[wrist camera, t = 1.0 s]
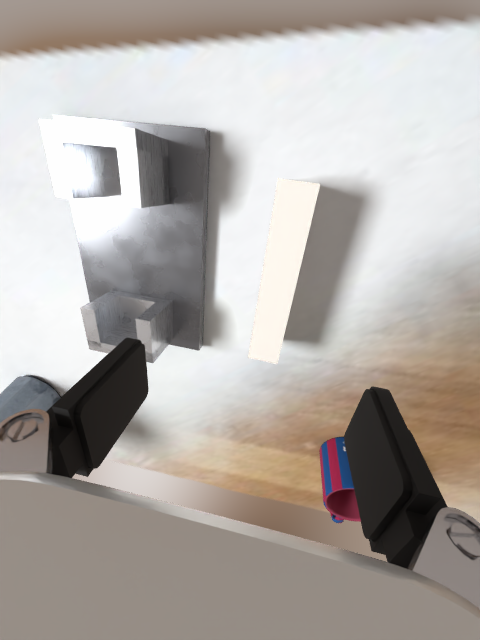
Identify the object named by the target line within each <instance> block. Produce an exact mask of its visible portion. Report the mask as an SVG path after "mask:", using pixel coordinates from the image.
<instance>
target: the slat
mask: <svg viewBox="0 0 480 640" xmlns="http://www.w3.org/2000/svg"><path fill="white" fill-rule="evenodd" d="M319 188H320V184H317V183H309V182H302V181H295V180H287V179H280V178H278V181H277V187H276V193H275V199H274V205H273V211H272V217H271V223H270V228H269V234H268V240H267V246H266V252H265V258H264V264H263V270H262V276H261V282H260V288H259V294H258V300H257V306H256V312H255V318H254V324H253V330H252V336H251V342H250V348H249V354H248V358H252V359H256V360H261V361H265V362H270V363H274V364H277V363H278V359H279V355H280V351H281V347H282V342H283V338H284V334H285V330H286V326H287V321H288V317H289V313H290V309H291V305H292V301H293V296H294V292H295V288H296V284H297V280H298V276H299V271H300V267H301V263H302V259H303V255H304V251H305V246H306V242H307V238H308V234H309V230H310V225H311V221H312V217H313V213H314V209H315V205H316V200H317V196H318V192H319Z"/></svg>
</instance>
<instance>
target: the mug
mask: <svg viewBox="0 0 480 640" xmlns="http://www.w3.org/2000/svg"><path fill="white" fill-rule="evenodd" d="M320 464H321V477H322V489H323V502H324V505H325V507H326V509H327V510H328V511H329V512H330V513H331V517H332V520H333V521H334V522H336V523H342V522H343V520H344V519H345V520H350V521H361V520H360V515H359V510H358V505H357V500H356V496H355V491H354V486H353V481H352V476H351V472H350V467H349V462H348V457H347V452H346V448H345V443H344V437H337V438H332V439H330V440H328V441H326V442H325V443H324V444H323V445H322V446H321V448H320Z"/></svg>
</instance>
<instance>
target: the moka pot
mask: <svg viewBox="0 0 480 640" xmlns="http://www.w3.org/2000/svg"><path fill="white" fill-rule="evenodd" d="M59 399H60V396H59V395H58V393H57V392H56V391H55V390H54V389H53V388H52V387H51V386H49V385H48V384H46V383H44V382H42V381H40V380H38V379H36V378H33V377H28V376H23V377H18V378H16V379H15V380H14V381H13V382H12V383H11V384H10V385H9V386H8V387H7V388H6V389H5V390H4V391H3V392H2V393H1V394H0V423H1V422H2V421H3V420H5V419H6V418H8V417H9V416H11V415H13V414H15V413H18V412H21V411H24V410H29V409H41V410H44V411H47V410H48V409H49V408H50V407H52V405H53V404H55V403H56V402H57V401H58V400H59Z"/></svg>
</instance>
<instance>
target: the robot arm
mask: <svg viewBox="0 0 480 640" xmlns="http://www.w3.org/2000/svg"><path fill="white" fill-rule="evenodd" d="M147 394H148V379H147V366H146V353H145V345H144V344H142V342H141V340H138V339H133V338H128V337H127V338H125V339H124V340H123V341H122V342H121V343H119V344H118V345H117V346H116V347H115V348H114V349H113V350H112V351H111V352H110V353H109V354H108V355H106V356H105V357H104V358H103V359H102V360H101V361H100V362H99V363H98V364H97V365H96V366H95V367H93V368H92V369H91V370H90V371H89V372H88V373H87V374H86V375H85V376H84V377H83V378H82V379H80V380H79V381H78V382H77V383H76V384H75V385H74V386H73V387H72V388H71V389H70V390H69V391H68V392H66V393H65V394H64V395H63V396H62V397H61V398H60V399H59V400H58V401H57V402H56V403H55V404H53V405H52V407H50V408H49V409H48V410H47V411H44V410H41V409H29V410H24V411H21V412H18V413H15V414H13V415H11V416H9V417H8V418H6V419H5V420H3V421H2V422H1V423H0V640H480V523H479V522H478V521H476V520H475V519H474V518H473V517H471V516H469V515H468V514H466V513H465V512H463V511H460V510H458V509H456V508H450V507H447V505H446V503H445V501H444V499H443V497H442V495H441V493H440V491H439V488H438V486H437V484H436V482H435V480H434V478H433V476H432V474H431V472H430V470H429V468H428V466H427V464H426V462H425V460H424V458H423V456H422V454H421V452H420V449H419V447H418V445H417V443H416V441H415V439H414V437H413V435H412V433H411V432H410V431H409V430H408V428H407V426H406V424H405V422H404V420H403V418H402V416H401V414H400V412H399V409H398V407H397V405H396V403H395V401H394V399H393V397H392V395H391V393H390V391H389V390H387V389H383V388H378V387H371V388H370V390H369V389H366V390H365V392H364V394H363V396H362V398H361V400H360V402H359V404H358V407H357V409H356V411H355V413H354V415H353V417H352V419H351V422H350V424H349V426H348V428H347V430H346V432H345V436H344V443H345V448H346V452H347V457H348V462H349V467H350V472H351V476H352V481H353V486H354V491H355V496H356V500H357V505H358V510H359V515H360V520H361V524H362V529H363V533H364V536H365V537H366V538H367V539H369V541H370V546H371V550H372V551H373V552H377V553H381V554H384V555H386V558H387V561H388V562H385V561H382V560H378V559H375V558H372V557H368V556H364V555H361V554H358V553H354V552H351V551H347V550H343V549H340V548H337V547H333V546H330V545H326V544H322V543H318V542H315V541H311V540H308V539H304V538H300V537H296V536H293V535H289V534H285V533H282V532H278V531H274V530H271V529H267V528H263V527H259V526H256V525H252V524H248V523H244V522H241V521H237V520H233V519H229V518H225V517H222V516H218V515H214V514H210V513H206V512H203V511H198V510H195V509H191V508H187V507H183V506H180V505H176V504H172V503H168V502H164V501H160V500H157V499H153V498H149V497H145V496H141V495H137V494H133V493H130V492H126V491H121V490H118V489H114V488H110V487H106V486H102V485H98V484H93V483H89V482H85V481H81V480H77V479H72V477H73V476H74V474H75V473H76V474H79V475H83V476H87V477H88V476H89V474H90V473H91V471H92V470H93V469H94V468H98V467H99V466H100V464H101V463H102V462H103V460H104V459H105V457H106V456H107V454H108V453H109V451H110V450H111V448H112V447H113V445H114V444H115V443H116V441H117V440H118V438H119V437H120V435H121V434H122V432H123V431H124V429H125V428H126V426H127V425H128V423H129V422H130V420H131V419H132V418H133V416H134V415H135V413H136V412H137V410H138V409H139V407H140V406H141V404H142V403H143V401H144V400H145V398H146V397H147Z"/></svg>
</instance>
